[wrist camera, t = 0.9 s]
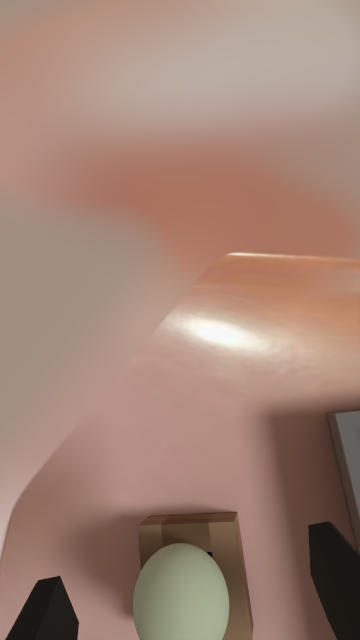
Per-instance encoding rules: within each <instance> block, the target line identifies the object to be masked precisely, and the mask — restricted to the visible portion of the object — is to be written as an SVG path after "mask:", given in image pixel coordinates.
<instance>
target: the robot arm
mask: <svg viewBox="0 0 360 640" xmlns="http://www.w3.org/2000/svg"><path fill="white" fill-rule="evenodd" d="M308 527H309V548H310V570H311V576H312V579H313V582H314V584H315V587H316V590H317V592H318V595H319V598H320V600H321V603H322V606H323V608H324V611H325V613H326V616H327V618H328V621H329V623H330V625H331V627H332V629H333V631H334V633H335V636H336V638H337V640H360V554H359V553H358V552H357V551H356V550H355V549H354V548H353V547H352V545H351V544H350V543H349V542H348V541H347V540H346V539H345V537H344V536H343V535H342V534H341V533H340V532H339V531H338V529H337V528H336V527H335V526H334V525H333V524H332V523H331V522H329V521H328V522H323V523H319V524H314V525H309V526H308ZM78 626H79V622H78V619H77V617H76V614H75V612H74V609H73V607H72V604H71V602H70V599H69V597H68V594H67V592H66V589H65V587H64V585H63V582H62V580H61V577H60V576H57V577H52V578H47V579H42V580H38V582H37V583H36V584H35V586H34V588H33V590H32V592H31V594H30V595H29V597H28V599H27V601H26V603H25V605H24V607H23V608H22V610H21V612H20V614H19V616H18V618H17V620H16V621H15V623H14V625H13V627H12V629H11V630H10V632H9V634H8V636H7V638H6V639H5V640H77V638H78Z"/></svg>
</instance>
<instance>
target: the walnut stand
mask: <svg viewBox="0 0 360 640" xmlns="http://www.w3.org/2000/svg"><path fill="white" fill-rule="evenodd" d="M138 529H139V544H140V560H141V570H142V568H143V567H144V565H145V564H146V562H147V561H148V560H149V559H150V557H151V556H153V555H154V554H155V553H156V552H157V551H158V550H160V549H161V548H163V547H166V546H168V545H171V544H176V543H186V544H191V545H194V546H197V547H199V548H200V549H202V550H204V551H205V552H212V556H213V560H214V561H215V562H216V564H217V565H218V567H219V568H220V570H221V572H222V574H223V577H224V579H225V582H226V586H227V590H228V596H229V617H228V624H227V627H226V631H225V634H224V636H223V639H222V640H252V634H253V620H252V613H251V606H250V599H249V592H248V585H247V578H246V571H245V564H244V557H243V550H242V543H241V536H240V528H239V521H238V514H237V512H229V513H209V514H188V515H167V516H149V517H148V518H147V519H146V520H145V521H143V522H142V523H141V524H140V525H139V526H138Z"/></svg>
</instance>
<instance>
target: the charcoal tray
mask: <svg viewBox="0 0 360 640" xmlns="http://www.w3.org/2000/svg"><path fill="white" fill-rule="evenodd" d="M326 416H327V420H328V424H329V429H330V433H331V437H332V442H333V446H334V450H335V455H336V459H337V464H338V468H339V472H340V477H341V481H342V485H343V490H344V494H345V499H346V503H347V507H348V512H349V516H350V520H351V525H352V529H353V533H354V538H355V542H356V547H357V551H358V553H359V554H360V410H353V411H344V412H335V413H326Z"/></svg>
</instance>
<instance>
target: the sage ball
mask: <svg viewBox="0 0 360 640" xmlns="http://www.w3.org/2000/svg"><path fill="white" fill-rule="evenodd" d="M133 615H134V622H135V627H136V630H137V633H138V636H139V638H140V640H222V639H223V636H224V634H225V631H226V627H227V624H228V617H229V596H228V590H227V586H226V582H225V579H224V577H223V574H222V572H221V570H220V568H219V567H218V565H217V564H216V562H215V561H214V560H213V559H212V557H211V556H210V555H209V554H207V553H206V552H205V551H204V550H202V549H200V548H199V547H197V546H194V545H191V544H186V543H176V544H171V545H168V546H166V547H163V548H161V549H160V550H158V551H157V552H156V553H155V554H154V555H153V556H151V557H150V559H149V560H148V561H147V562H146V564H145V565H144V567H143V568H142V570H141V572H140V574H139V577H138V579H137V582H136V586H135V590H134V597H133Z"/></svg>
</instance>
